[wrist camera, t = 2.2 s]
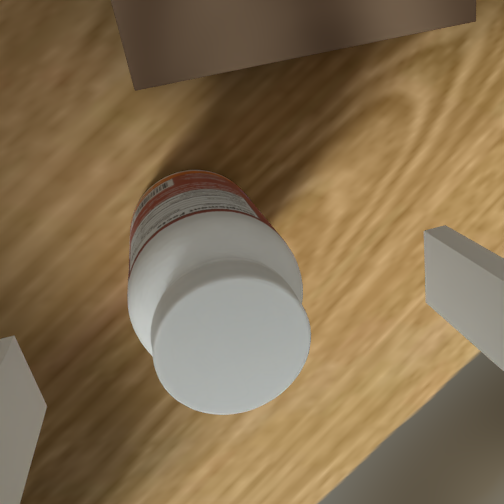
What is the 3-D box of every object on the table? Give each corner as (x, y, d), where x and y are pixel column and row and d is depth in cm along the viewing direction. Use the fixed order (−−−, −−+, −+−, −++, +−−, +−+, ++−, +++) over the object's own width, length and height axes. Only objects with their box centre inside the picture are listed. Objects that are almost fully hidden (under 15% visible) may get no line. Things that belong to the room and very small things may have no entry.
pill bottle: (247, 284, 25) (318, 430, 15) (128, 283, 24) (122, 445, 14) (261, 170, 23) (354, 254, 13) (131, 161, 22) (127, 248, 12)
